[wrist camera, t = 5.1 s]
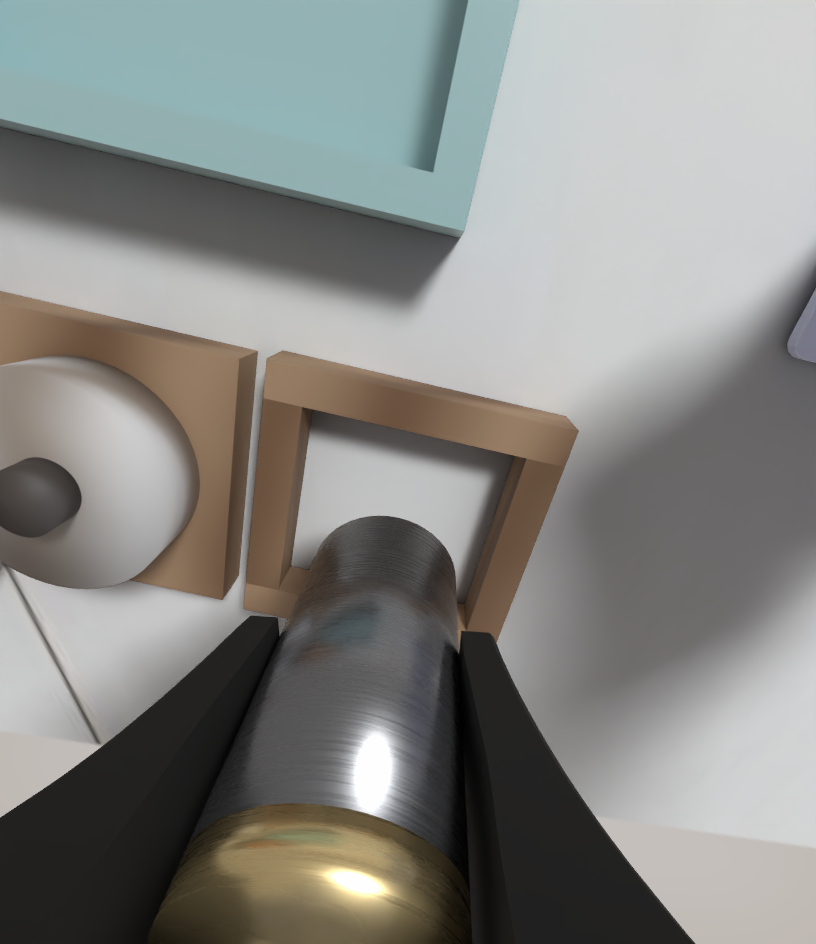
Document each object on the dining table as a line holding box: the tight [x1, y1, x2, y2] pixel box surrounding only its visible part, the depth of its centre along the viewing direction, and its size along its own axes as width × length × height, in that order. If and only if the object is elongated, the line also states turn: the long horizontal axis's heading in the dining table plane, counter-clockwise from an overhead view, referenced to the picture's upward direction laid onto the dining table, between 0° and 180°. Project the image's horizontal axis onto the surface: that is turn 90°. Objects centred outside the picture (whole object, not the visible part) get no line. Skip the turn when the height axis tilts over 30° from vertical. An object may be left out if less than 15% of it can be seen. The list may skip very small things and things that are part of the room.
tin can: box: [148, 516, 472, 944], centre depth 9 cm, size 4×4×8 cm
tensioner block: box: [0, 291, 578, 649], centre depth 15 cm, size 19×9×4 cm, turn 78°
